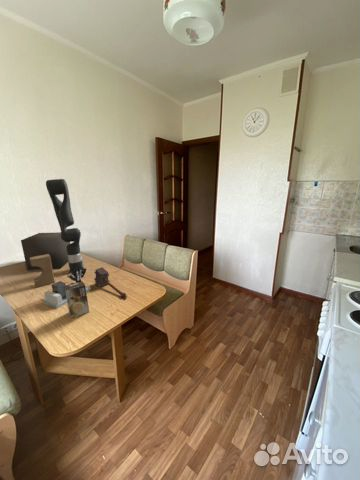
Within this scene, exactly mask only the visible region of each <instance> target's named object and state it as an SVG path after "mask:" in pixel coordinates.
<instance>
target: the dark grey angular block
mask: <svg viewBox="0 0 360 480" xmlns="http://www.w3.org/2000/svg"><path fill="white" fill-rule="evenodd" d="M20 244H21V248H22V251H23V252H22V253H23V258H24V261H25V267H26V270H27V271H37V270H39V271H42V269H41V268H40V267H37V266H31V264H30V259H29V258H30V257H35V256H40V255H46V254H49V255H50V258H51V264H52V269H53V270H61V269H62V268H63V267H64V266H66V264H69V263H68V255H67V249H66V246H67V245H68V244H71V242H64V241H63V240H62V239H61V231H60V232H38V233H35V234H33V235H30V236H28V237H26V238H24V239H21V240H20Z"/></svg>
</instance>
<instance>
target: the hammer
mask: <svg viewBox="0 0 360 480" xmlns="http://www.w3.org/2000/svg"><path fill="white" fill-rule="evenodd" d="M94 274H95V277H94V278H93V279H94V282H95V284H96V285H98V286H99V288H102V287H104V286H107V285H108V286H109V287H110V288H112V289H113V290H114V291H115V292H116V293H117V294H118V295H120V297H121V298H122V299H123V297H124V299H127V298H128V296H127V295H126V294H127V293H125V292H123V291H121V290H119V289H118V288H117V287H115V286H114V285H113V284H112V283H111V282H110V280H109V276H110V273H109V271H108V270H106V269H105V268H104V267H99V268H96V269H95V271H94Z"/></svg>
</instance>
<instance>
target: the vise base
mask: <svg viewBox="0 0 360 480" xmlns="http://www.w3.org/2000/svg"><path fill="white" fill-rule="evenodd" d="M85 287H86V293H87V292H90V291H91V287H90V286H87V285H85ZM43 294H44V298H45V299H44V300H42V301H43V304H44V305H47V306H49V307H53V308H56V309H59V308H61V307H62V306H65V305H66V304H67V298H64V299H62V297H61V295H60V294H57V293H54V292H53V291H51V290H46V291H44V293H43Z"/></svg>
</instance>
